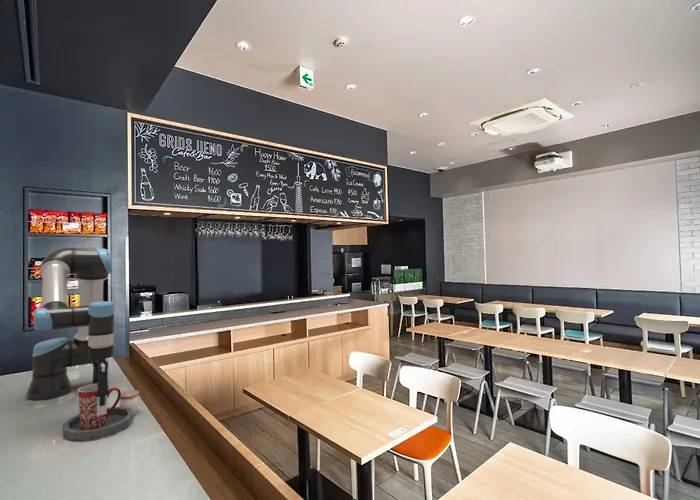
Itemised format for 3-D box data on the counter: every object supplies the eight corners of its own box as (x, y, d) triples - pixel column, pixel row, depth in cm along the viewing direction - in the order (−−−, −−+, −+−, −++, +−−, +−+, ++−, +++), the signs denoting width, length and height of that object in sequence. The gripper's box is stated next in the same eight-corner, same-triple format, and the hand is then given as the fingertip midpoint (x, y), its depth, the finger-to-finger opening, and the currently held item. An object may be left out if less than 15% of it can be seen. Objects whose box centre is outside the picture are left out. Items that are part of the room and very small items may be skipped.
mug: (76, 434, 120) (77, 393, 120) (76, 424, 127) (77, 386, 128) (121, 424, 128) (122, 385, 128) (118, 415, 135) (119, 379, 135)
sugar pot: (116, 413, 139) (117, 392, 139) (136, 408, 143) (136, 388, 144) (120, 419, 134) (120, 397, 134) (140, 414, 138) (140, 393, 139)
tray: (61, 425, 129) (61, 417, 129) (126, 410, 142) (126, 402, 142) (64, 448, 114) (65, 438, 114) (137, 428, 127) (137, 420, 127)
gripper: (84, 341, 134) (83, 403, 134) (91, 353, 118) (90, 423, 117) (108, 339, 139) (107, 397, 139) (118, 350, 122) (117, 417, 122)
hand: (99, 409), depth 128 cm, fingers open, 10 cm apart
